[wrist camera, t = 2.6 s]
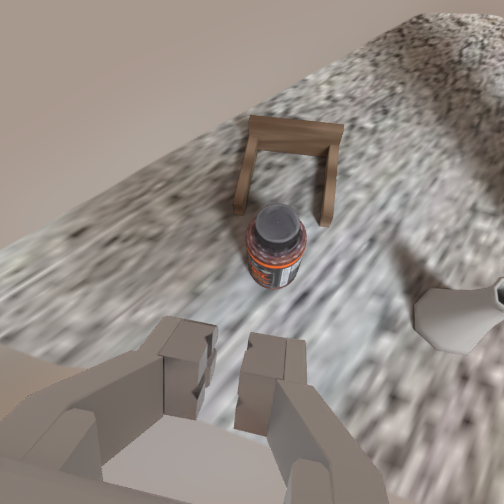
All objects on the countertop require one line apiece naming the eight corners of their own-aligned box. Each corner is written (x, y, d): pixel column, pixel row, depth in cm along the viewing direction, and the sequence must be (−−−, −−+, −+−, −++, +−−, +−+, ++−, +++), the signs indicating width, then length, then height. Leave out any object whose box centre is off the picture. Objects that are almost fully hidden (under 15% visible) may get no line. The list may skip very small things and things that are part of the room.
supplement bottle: (238, 269, 37) (228, 223, 26) (271, 236, 38) (273, 181, 28) (275, 301, 35) (280, 265, 25) (307, 266, 36) (325, 218, 26)
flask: (422, 278, 35) (478, 241, 26) (487, 308, 34) (570, 279, 25) (403, 333, 33) (456, 313, 24) (471, 368, 31) (557, 360, 22)
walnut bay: (328, 227, 38) (337, 206, 34) (234, 214, 40) (230, 192, 35) (335, 152, 44) (344, 124, 39) (251, 142, 45) (250, 114, 40)
